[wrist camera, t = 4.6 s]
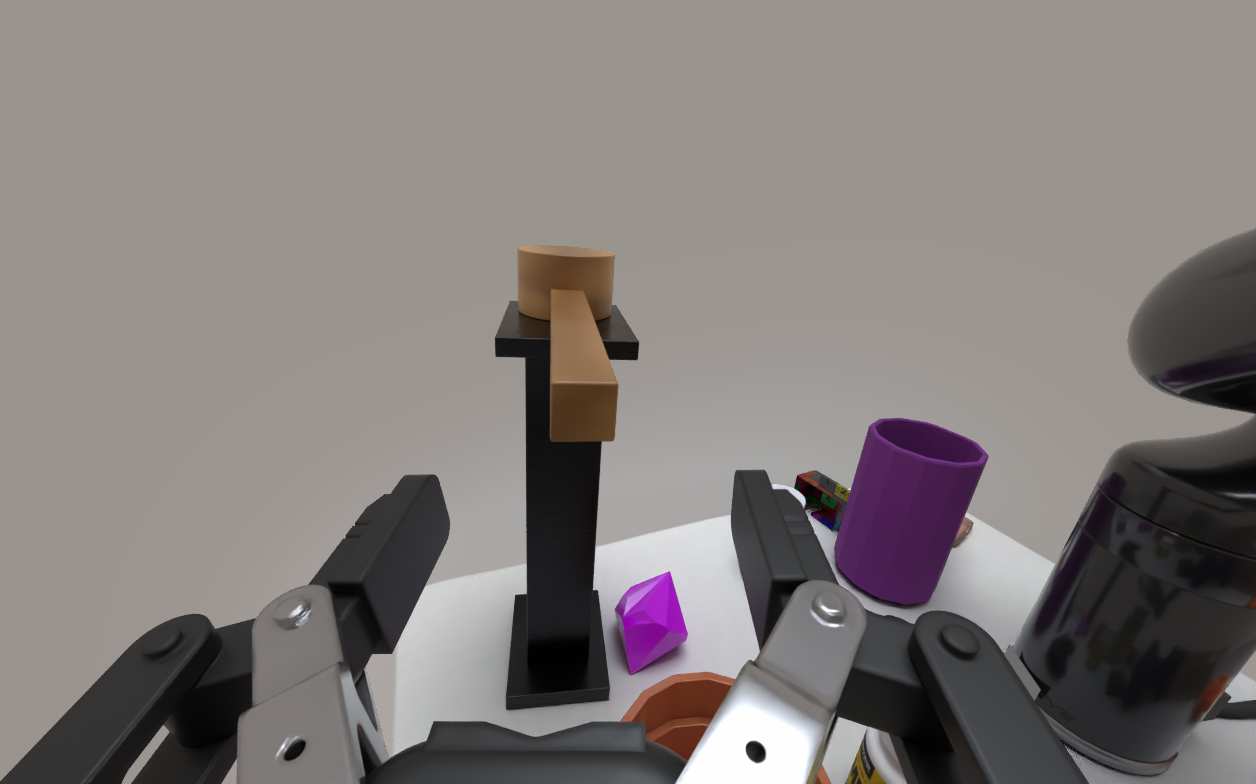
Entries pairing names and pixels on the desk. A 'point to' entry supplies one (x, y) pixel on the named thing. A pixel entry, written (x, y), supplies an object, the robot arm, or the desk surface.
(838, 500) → the puzzle-patterned holder
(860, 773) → the supplement bottle
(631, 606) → the crystal
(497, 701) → the desk surface
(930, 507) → the mug
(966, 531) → the pottery shard
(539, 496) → the shelf stand
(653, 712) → the bowl
